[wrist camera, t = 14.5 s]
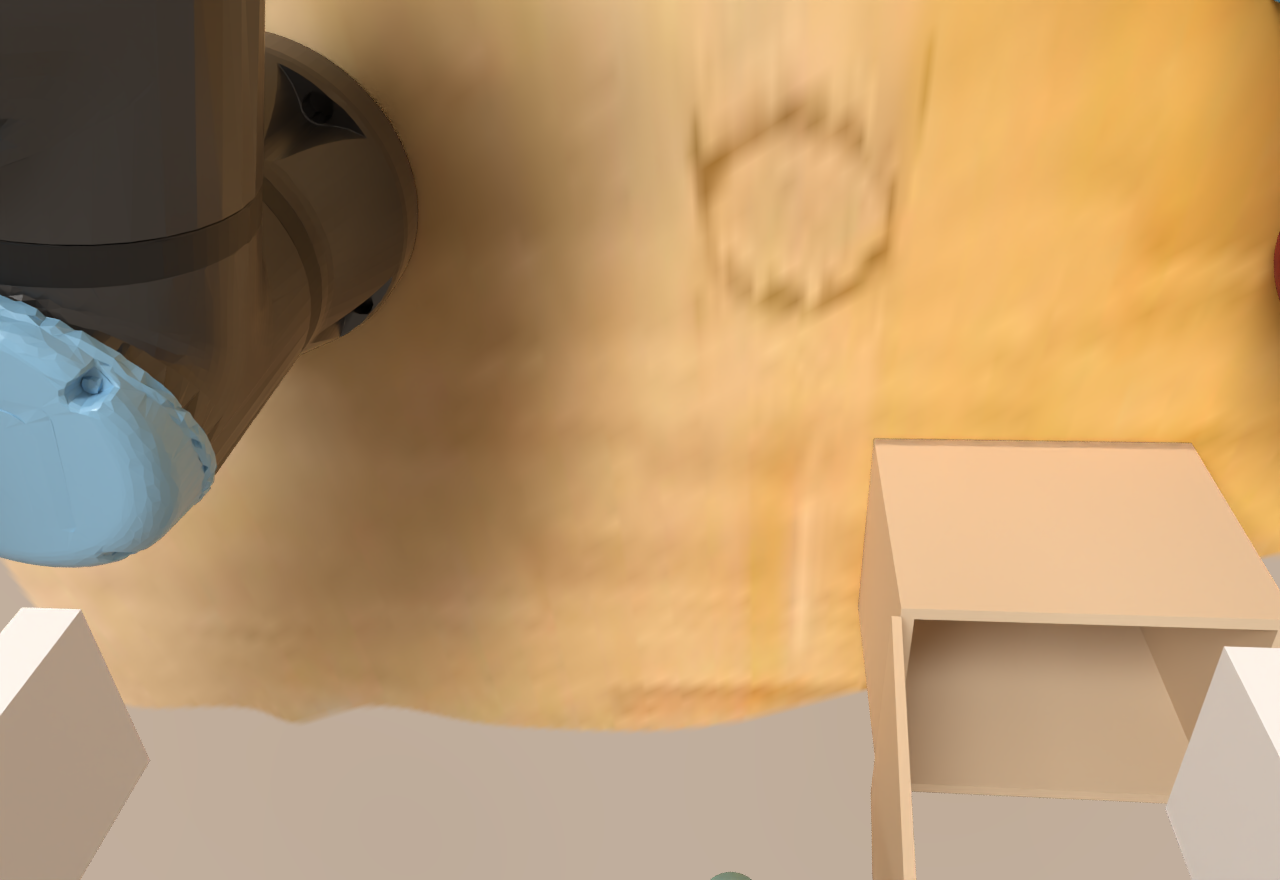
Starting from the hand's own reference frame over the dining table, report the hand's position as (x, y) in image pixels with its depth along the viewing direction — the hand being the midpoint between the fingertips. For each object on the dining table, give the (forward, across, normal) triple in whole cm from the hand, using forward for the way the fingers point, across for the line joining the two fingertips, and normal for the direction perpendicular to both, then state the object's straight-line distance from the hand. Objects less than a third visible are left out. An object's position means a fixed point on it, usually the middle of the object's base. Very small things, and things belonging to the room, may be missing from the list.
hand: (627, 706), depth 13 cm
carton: (+39, +16, -28) cm, 50 cm away
